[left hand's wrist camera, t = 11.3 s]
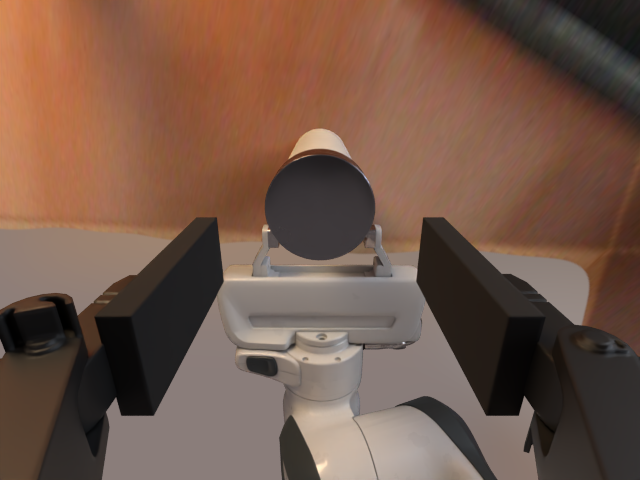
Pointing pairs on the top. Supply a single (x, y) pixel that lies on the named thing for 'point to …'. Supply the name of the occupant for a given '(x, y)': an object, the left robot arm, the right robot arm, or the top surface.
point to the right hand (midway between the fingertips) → (321, 226)
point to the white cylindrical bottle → (320, 142)
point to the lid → (319, 205)
